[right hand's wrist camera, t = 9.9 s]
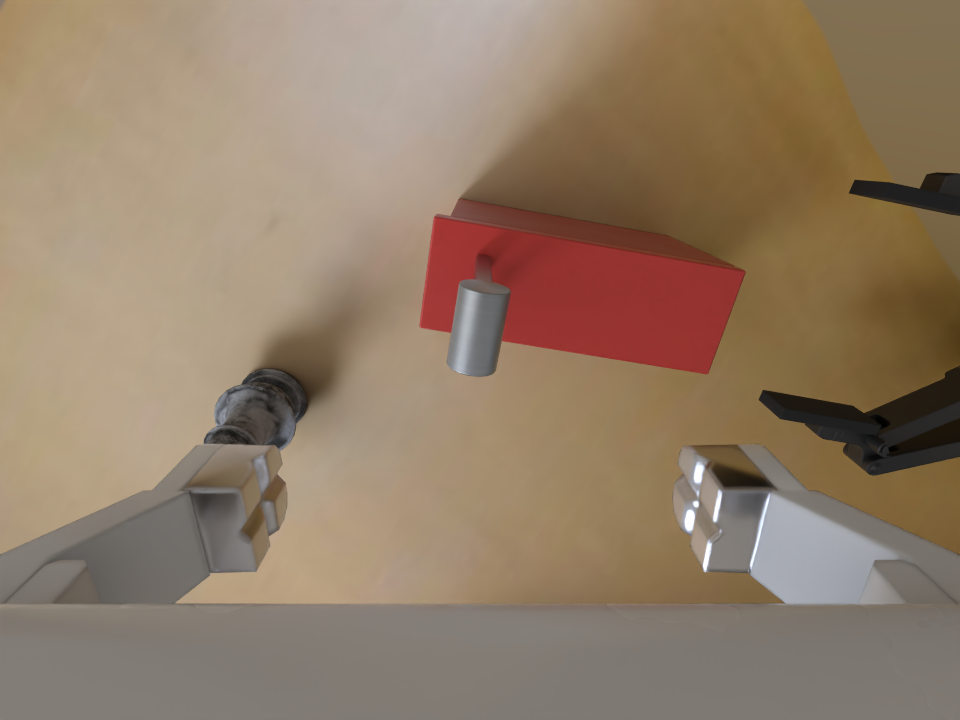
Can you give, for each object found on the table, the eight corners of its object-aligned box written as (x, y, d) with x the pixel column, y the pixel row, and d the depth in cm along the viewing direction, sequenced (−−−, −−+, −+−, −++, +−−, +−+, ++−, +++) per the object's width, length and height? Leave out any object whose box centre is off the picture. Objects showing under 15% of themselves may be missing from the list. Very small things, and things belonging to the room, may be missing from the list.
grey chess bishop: (247, 353, 39) (155, 432, 28) (320, 383, 40) (259, 471, 29) (227, 414, 41) (134, 511, 30) (297, 441, 42) (232, 545, 31)
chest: (446, 278, 37) (434, 323, 28) (458, 198, 35) (450, 215, 26) (644, 312, 38) (699, 366, 29) (667, 235, 36) (735, 266, 27)
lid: (421, 321, 28) (395, 395, 19) (435, 213, 26) (413, 243, 17) (699, 366, 29) (791, 456, 20) (736, 266, 26) (855, 319, 18)
